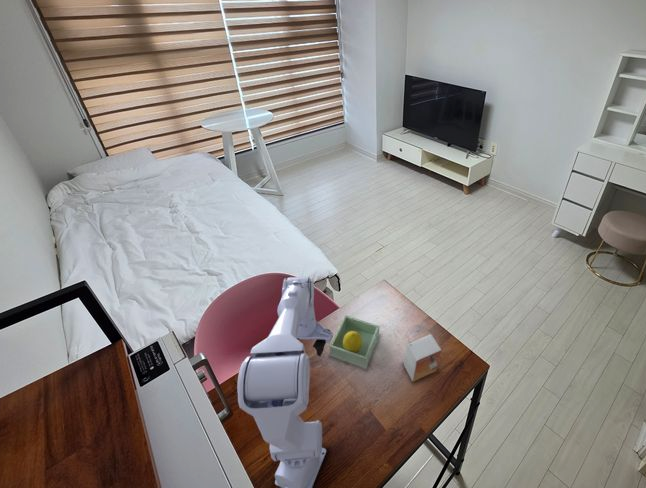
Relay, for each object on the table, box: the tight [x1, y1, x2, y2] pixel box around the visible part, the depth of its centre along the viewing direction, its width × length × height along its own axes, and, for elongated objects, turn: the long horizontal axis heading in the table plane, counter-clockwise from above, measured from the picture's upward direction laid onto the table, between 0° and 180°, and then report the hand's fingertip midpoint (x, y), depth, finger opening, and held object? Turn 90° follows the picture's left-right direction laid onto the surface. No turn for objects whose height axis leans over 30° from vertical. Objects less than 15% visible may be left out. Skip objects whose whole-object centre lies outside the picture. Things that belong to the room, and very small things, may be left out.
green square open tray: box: [329, 314, 380, 370], centre depth 98 cm, size 11×11×5 cm
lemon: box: [343, 331, 362, 353], centre depth 95 cm, size 6×6×8 cm
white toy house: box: [403, 333, 442, 383], centre depth 91 cm, size 8×6×10 cm
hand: (307, 347), depth 87 cm, fingers open, 7 cm apart
